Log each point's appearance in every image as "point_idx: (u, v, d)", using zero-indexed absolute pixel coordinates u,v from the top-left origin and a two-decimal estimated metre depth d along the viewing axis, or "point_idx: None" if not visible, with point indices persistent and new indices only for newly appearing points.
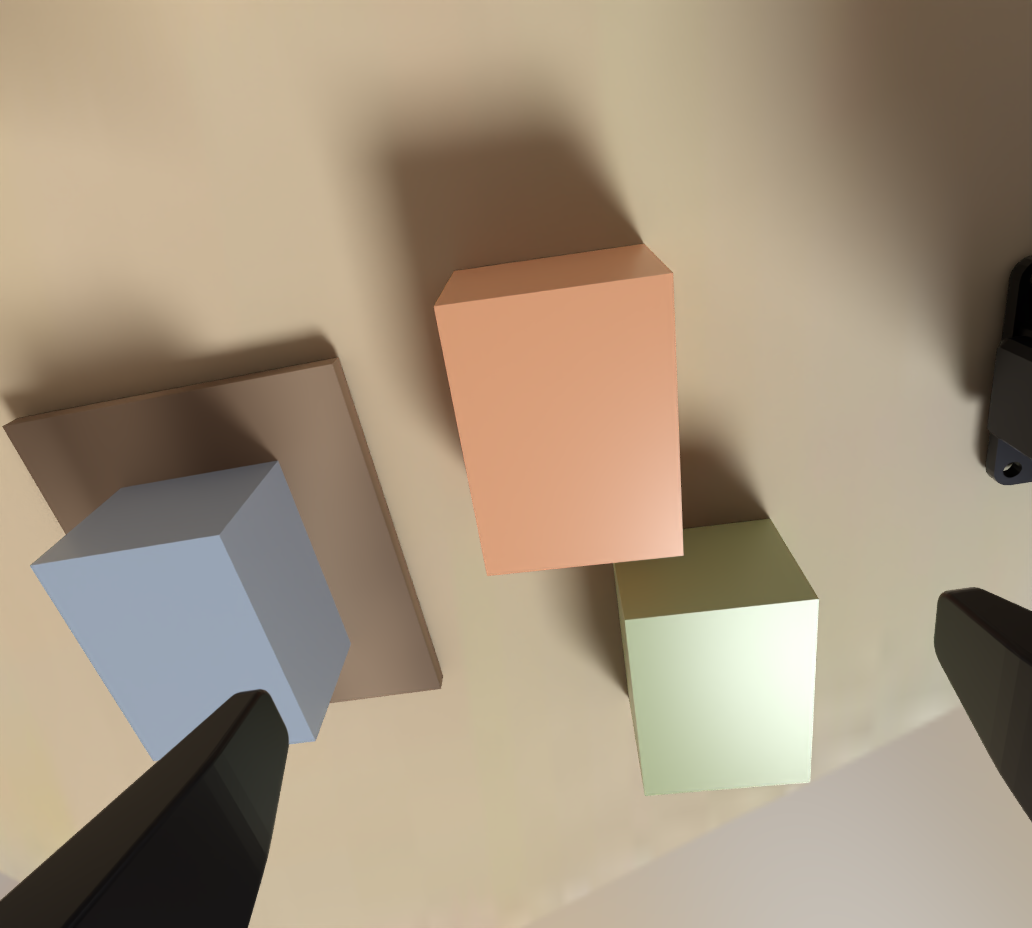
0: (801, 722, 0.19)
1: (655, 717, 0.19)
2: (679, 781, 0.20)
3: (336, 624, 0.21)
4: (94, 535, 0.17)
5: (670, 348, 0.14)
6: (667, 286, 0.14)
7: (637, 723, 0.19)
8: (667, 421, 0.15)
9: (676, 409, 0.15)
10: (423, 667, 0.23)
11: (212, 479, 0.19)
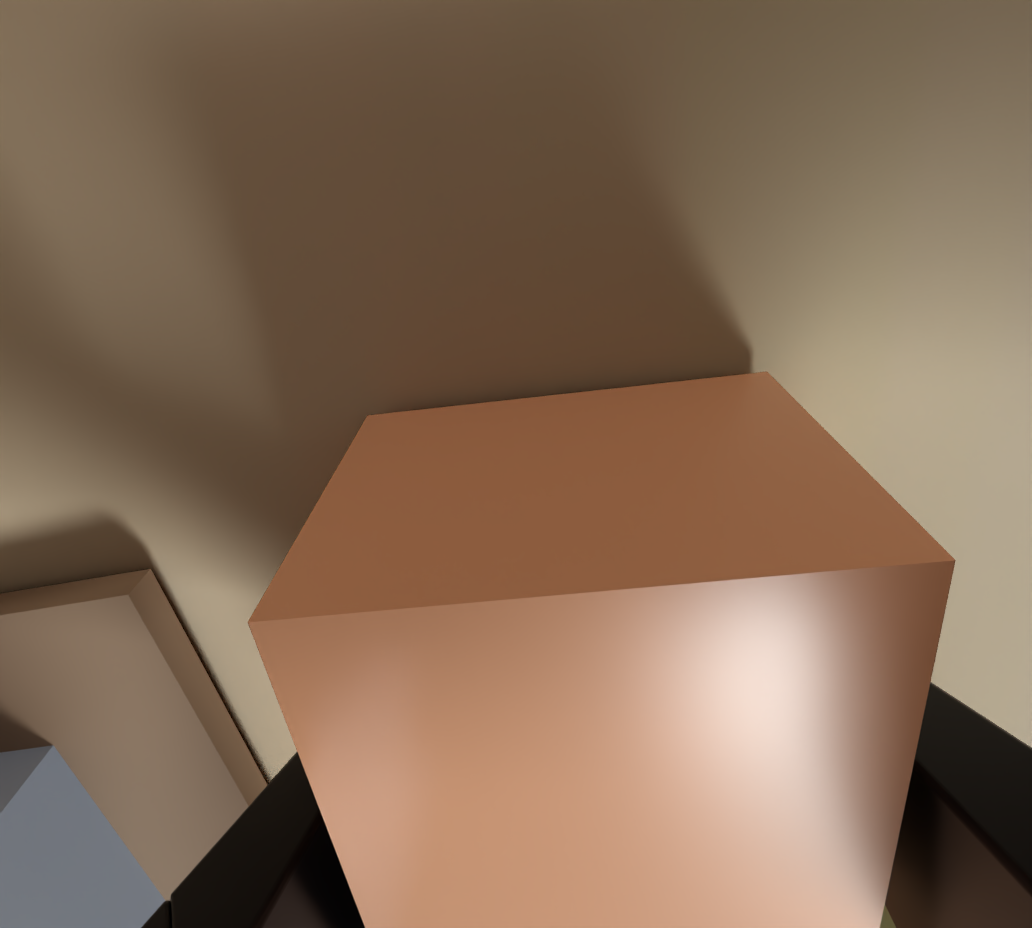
0: None
1: None
2: None
3: None
4: None
5: (907, 730, 0.05)
6: (930, 591, 0.05)
7: None
8: (864, 863, 0.06)
9: (891, 841, 0.06)
10: None
11: None
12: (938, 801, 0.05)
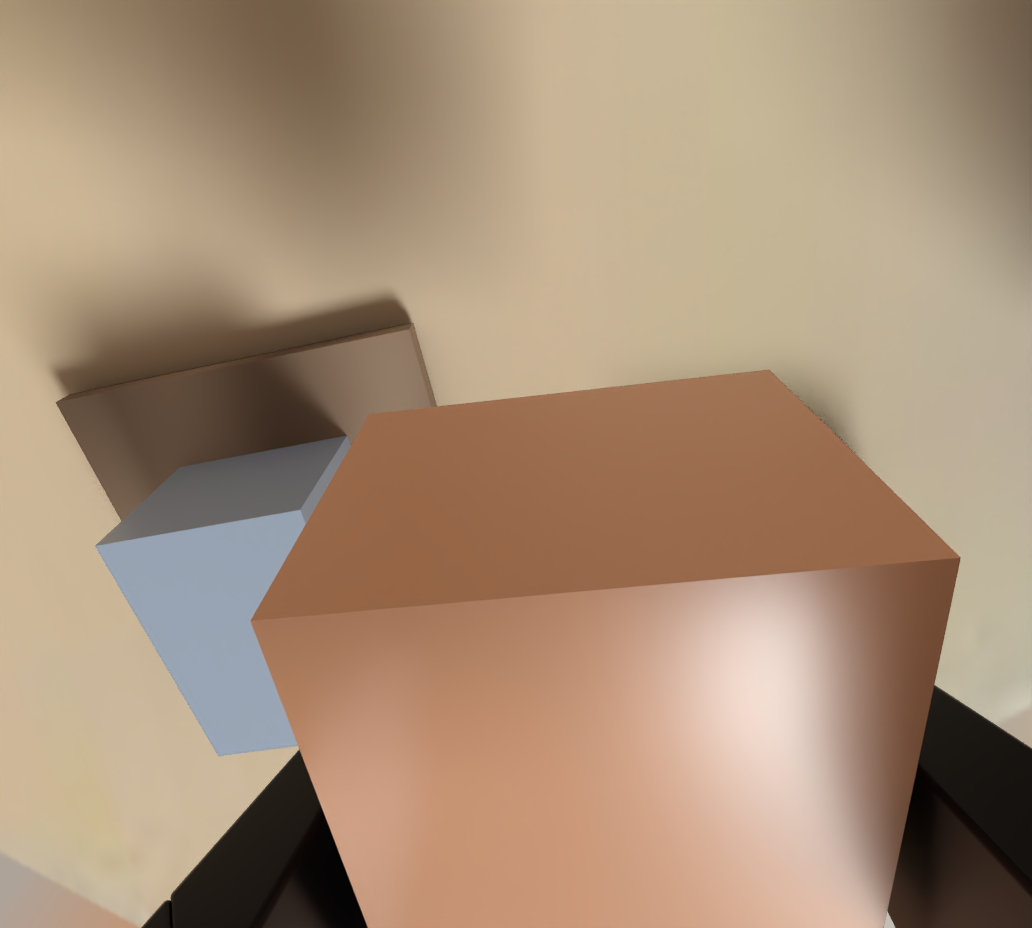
0: None
1: None
2: None
3: None
4: (160, 514, 0.16)
5: (912, 728, 0.05)
6: (934, 588, 0.05)
7: None
8: (869, 862, 0.06)
9: (896, 839, 0.06)
10: None
11: (278, 456, 0.18)
12: (938, 801, 0.05)
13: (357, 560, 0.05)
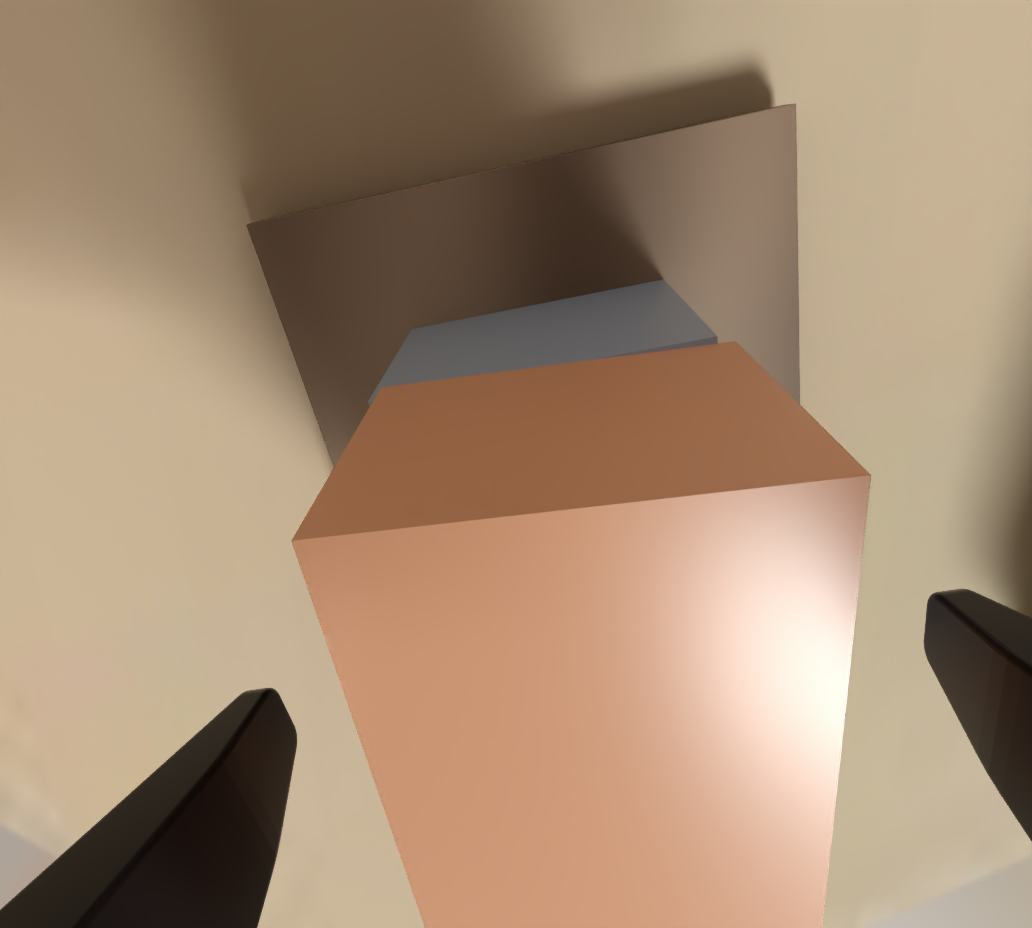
0: None
1: None
2: None
3: None
4: (446, 364, 0.10)
5: (843, 627, 0.06)
6: (852, 503, 0.06)
7: None
8: (817, 752, 0.07)
9: (838, 732, 0.07)
10: None
11: (572, 304, 0.12)
12: None
13: (377, 496, 0.06)
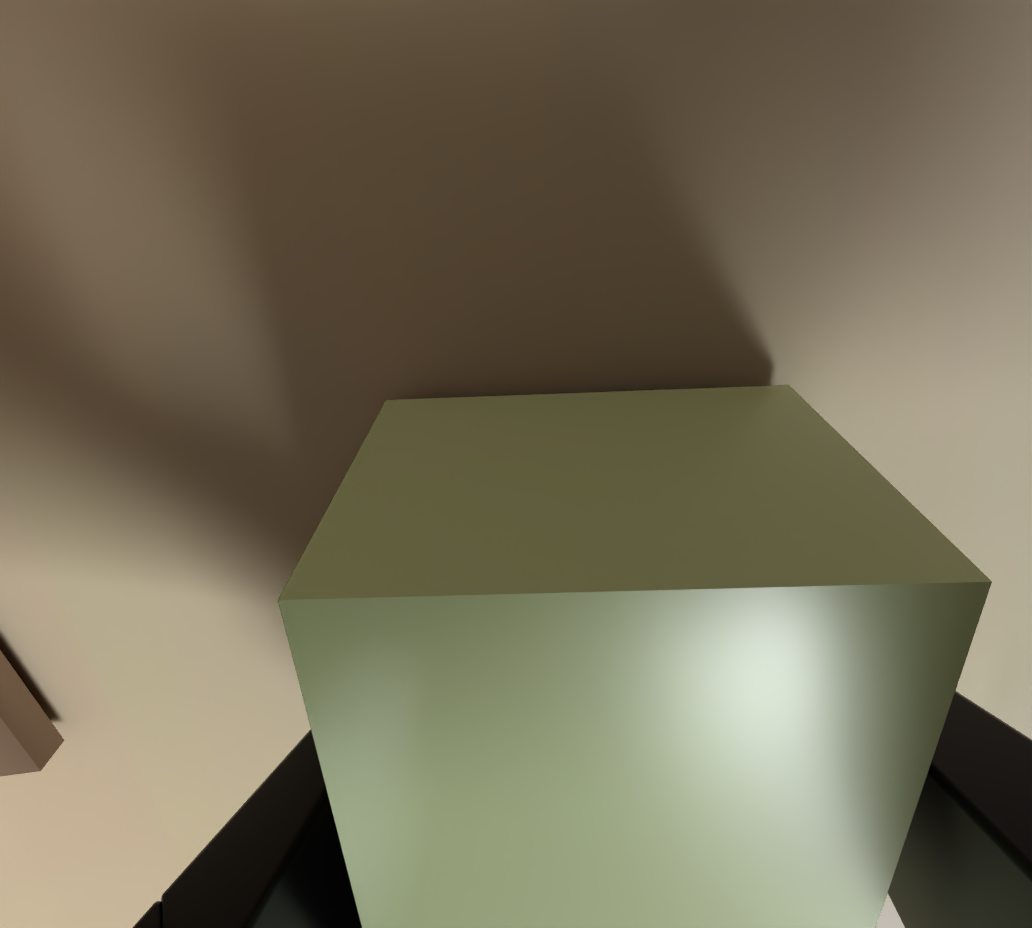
0: None
1: (414, 905, 0.06)
2: None
3: None
4: None
5: None
6: None
7: (362, 916, 0.06)
8: None
9: None
10: None
11: None
12: (949, 800, 0.05)
13: None
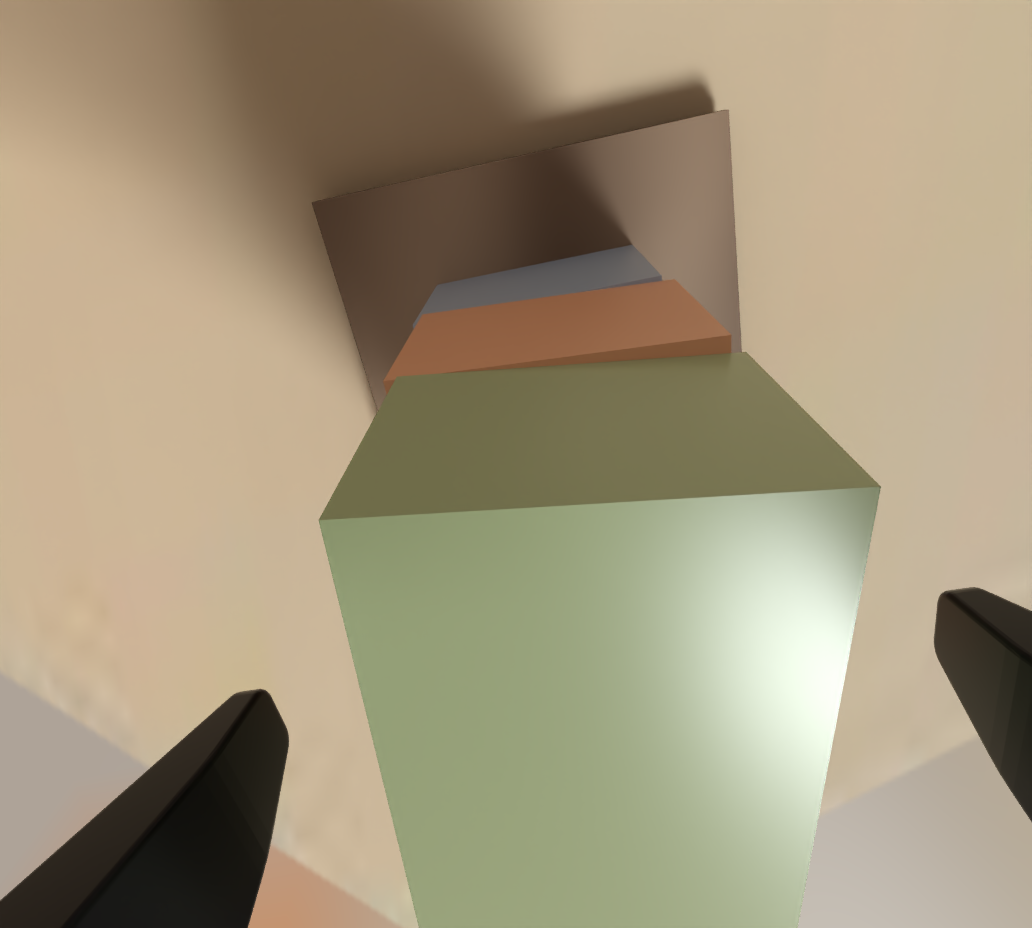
0: (790, 819, 0.08)
1: (432, 790, 0.08)
2: None
3: None
4: (467, 302, 0.14)
5: None
6: (722, 353, 0.09)
7: (390, 801, 0.08)
8: None
9: None
10: None
11: (561, 263, 0.16)
12: None
13: (432, 361, 0.10)
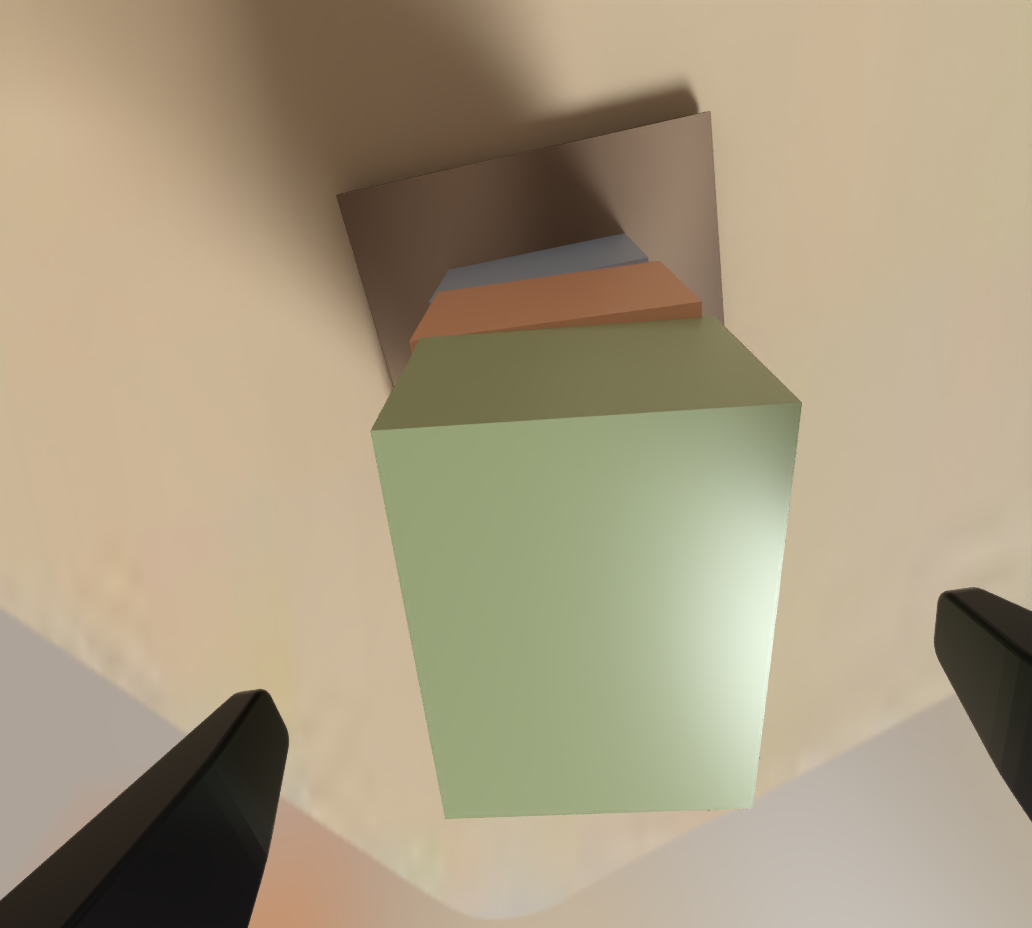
0: (744, 690, 0.10)
1: (454, 664, 0.09)
2: (509, 794, 0.11)
3: None
4: (477, 283, 0.16)
5: None
6: (694, 317, 0.11)
7: (419, 675, 0.10)
8: None
9: None
10: None
11: (561, 249, 0.18)
12: None
13: (449, 326, 0.12)
